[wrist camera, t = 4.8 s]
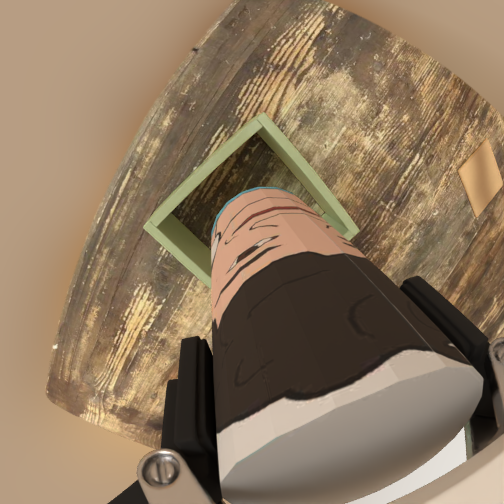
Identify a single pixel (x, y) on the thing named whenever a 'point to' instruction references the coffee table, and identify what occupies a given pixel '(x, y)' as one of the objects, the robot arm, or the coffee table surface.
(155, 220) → the crate
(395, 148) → the coffee table surface
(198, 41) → the coffee table surface
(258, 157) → the coffee table surface
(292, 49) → the coffee table surface
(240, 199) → the grey printed cylinder
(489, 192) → the coaster
